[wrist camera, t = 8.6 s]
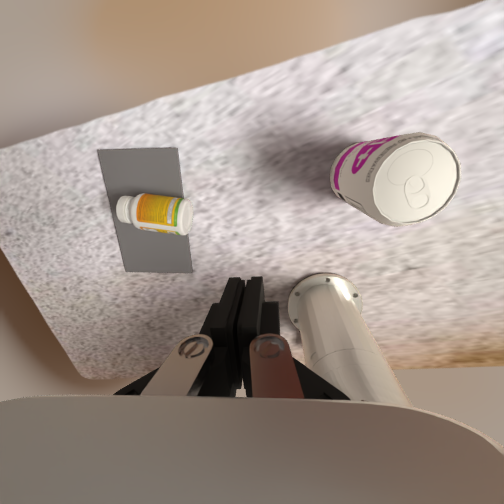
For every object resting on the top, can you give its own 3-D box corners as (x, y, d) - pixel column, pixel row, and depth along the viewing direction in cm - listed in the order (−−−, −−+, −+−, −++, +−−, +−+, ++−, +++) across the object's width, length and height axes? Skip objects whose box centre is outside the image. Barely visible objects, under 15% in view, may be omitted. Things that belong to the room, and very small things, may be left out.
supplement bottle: (191, 191, 35) (126, 183, 35) (179, 215, 32) (107, 205, 32) (195, 219, 39) (137, 211, 40) (185, 243, 36) (121, 234, 36)
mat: (192, 271, 42) (191, 273, 42) (127, 270, 43) (125, 271, 43) (177, 148, 35) (176, 147, 35) (99, 150, 36) (97, 149, 36)
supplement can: (319, 161, 34) (351, 163, 20) (377, 130, 32) (457, 109, 18) (340, 212, 37) (382, 245, 23) (396, 185, 35) (479, 204, 21)
